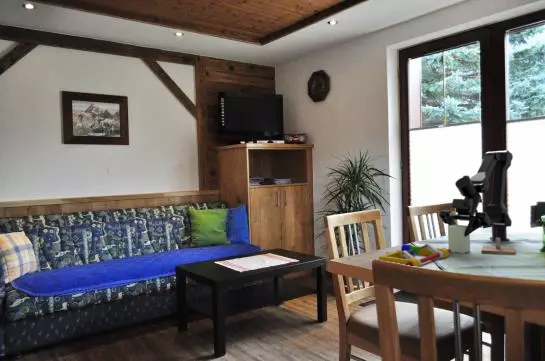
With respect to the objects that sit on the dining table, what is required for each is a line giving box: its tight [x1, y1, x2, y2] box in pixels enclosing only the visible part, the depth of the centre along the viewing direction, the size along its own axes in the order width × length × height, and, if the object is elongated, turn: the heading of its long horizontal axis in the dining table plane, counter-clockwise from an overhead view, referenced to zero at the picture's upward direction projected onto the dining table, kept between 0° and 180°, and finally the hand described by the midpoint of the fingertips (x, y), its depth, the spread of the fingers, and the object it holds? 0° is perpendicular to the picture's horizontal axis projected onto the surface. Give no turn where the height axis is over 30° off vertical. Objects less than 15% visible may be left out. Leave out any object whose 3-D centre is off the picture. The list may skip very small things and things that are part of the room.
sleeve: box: [447, 224, 471, 254], centre depth 164 cm, size 5×6×10 cm
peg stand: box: [481, 238, 516, 256], centre depth 162 cm, size 11×11×5 cm
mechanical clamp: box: [378, 243, 452, 268], centre depth 155 cm, size 18×6×30 cm
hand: (456, 235), depth 163 cm, fingers closed on sleeve, 6 cm apart
